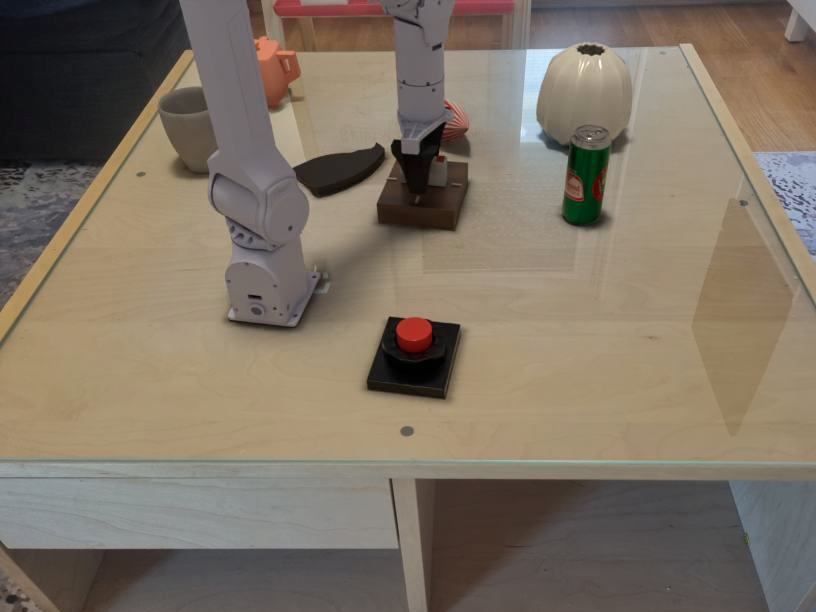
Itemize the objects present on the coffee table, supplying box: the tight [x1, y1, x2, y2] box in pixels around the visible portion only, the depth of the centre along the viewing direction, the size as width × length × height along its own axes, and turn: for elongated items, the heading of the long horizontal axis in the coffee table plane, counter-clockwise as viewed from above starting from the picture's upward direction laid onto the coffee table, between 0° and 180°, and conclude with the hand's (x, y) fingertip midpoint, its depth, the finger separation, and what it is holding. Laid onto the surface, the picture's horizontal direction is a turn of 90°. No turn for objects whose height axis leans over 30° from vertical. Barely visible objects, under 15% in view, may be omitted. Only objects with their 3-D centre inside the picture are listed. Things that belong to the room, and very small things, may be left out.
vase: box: [535, 41, 633, 147], centre depth 110 cm, size 14×14×13 cm
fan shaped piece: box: [292, 142, 386, 198], centre depth 106 cm, size 8×14×2 cm, turn 125°
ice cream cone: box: [441, 97, 470, 143], centre depth 114 cm, size 6×6×20 cm
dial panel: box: [376, 159, 469, 231], centre depth 100 cm, size 12×10×3 cm
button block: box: [366, 316, 462, 399], centre depth 78 cm, size 10×8×3 cm
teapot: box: [254, 35, 302, 110], centre depth 120 cm, size 12×12×10 cm
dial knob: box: [400, 154, 448, 187], centre depth 98 cm, size 6×2×4 cm, turn 81°
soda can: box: [561, 124, 613, 226], centre depth 94 cm, size 5×5×12 cm
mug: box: [156, 85, 218, 174], centre depth 106 cm, size 12×9×10 cm
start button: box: [396, 316, 432, 353], centre depth 77 cm, size 4×4×2 cm
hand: (423, 176), depth 98 cm, fingers open, 7 cm apart
